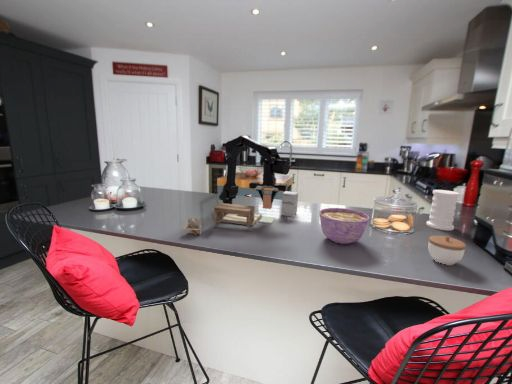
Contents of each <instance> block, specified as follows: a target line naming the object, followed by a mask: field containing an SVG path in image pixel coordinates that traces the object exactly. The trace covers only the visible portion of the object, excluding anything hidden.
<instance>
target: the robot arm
mask: <svg viewBox="0 0 512 384" xmlns="http://www.w3.org/2000/svg"><path fill="white" fill-rule="evenodd" d="M224 147H225V154H226V156H227V168H226V169H227V170H226V181H225V183H224V185H223V187H222V192H221V193H220V194H219V195H218V198H219V200H220V201H222V203H226V204H233V199H234V200H235V199H236V197H237V195H238V193H239V185H237V183H236V175H237V174H236V173H237V163H238V156H239V155H240V154H241V149H242V148H243V147H247V148H250V149H252V150H253V151H256V152H257V153H258V154H259V156H260V157H262V159H261V160H260V161H259V163H261V164H263V165H262V166H263V168H262V169H263V170H262V183H260V181H254V180H253V181H251V182H250V183H248V188H249V189H252V190H256V192H258V194H259V196H260V199H261V201H262V202H263V194H265V189H272V191H271V194H272V198H271V203H272V204H273V203H274V199H275V197H276V195H277V194H278V193H279V192H285V191H288V184H287V183H279V184H277V178H276V175H288V173H290V164H289V163H288V160H287V159H282V157H281V156H280V154H279V153H278V149H277V147H275V146H272V145H267V144H266V145H265V144H263V143H261V142H259V141H257V140H255V139H253V138H250V137H249V136H248V135H238V137H236V138H233V139H231V140H228V141H227V142H226V143H225V146H224ZM275 174H276V175H275Z"/></svg>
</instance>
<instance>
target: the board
mask: <svg viewBox="0 0 512 384" xmlns="http://www.w3.org/2000/svg"><path fill="white" fill-rule="evenodd" d="M262 215H263V214H262V213H255V212H254V222H253V223H252V224H251V225H250V226H255V224H256V223H257V222H259V221H260V220H261V218H262V217H263V216H262ZM220 222H222V223H229V224H238V225H246V222H247V215H240V214H231V213H226V214H225V215H224V218H222V219H221V220H220Z"/></svg>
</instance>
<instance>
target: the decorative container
mask: <svg viewBox="0 0 512 384" xmlns="http://www.w3.org/2000/svg"><path fill="white" fill-rule="evenodd" d="M432 194H433V196H432V198H431V199H432V203H431V205H430V206H431V208H430V210H429V212H430V214H429V216H428V218H429V220H427V221H426V226H428V227H429V228H432V229H435V230H441V231H453V230H454V229H455V226H454V225H453V222H454V221H455V220H454V217H455V215H456V213H455V211H456V208H457V203H458V197H460V192H457V191H453V190H448V189H445V190H444V189H432Z"/></svg>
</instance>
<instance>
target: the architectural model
mask: <svg viewBox="0 0 512 384" xmlns="http://www.w3.org/2000/svg"><path fill="white" fill-rule="evenodd" d="M201 220H202V219H201V218H198V217H187V225H185V226H184V227H183V228H182V230H188V234H194V235H195V236H197V235H199V236H201V235H202V221H201Z"/></svg>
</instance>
